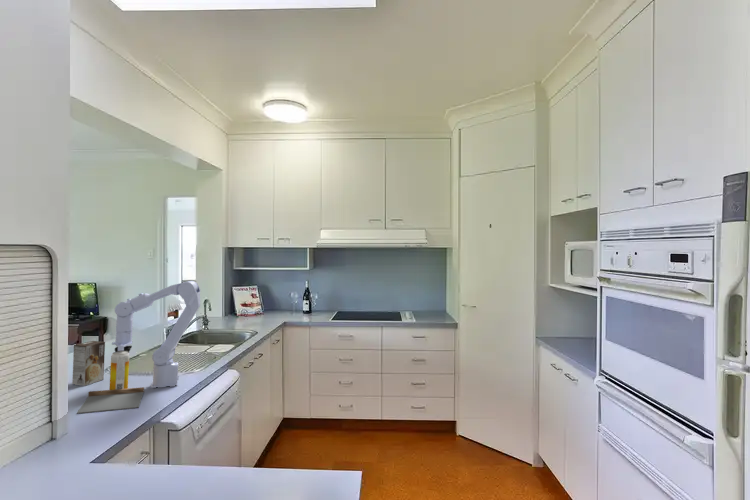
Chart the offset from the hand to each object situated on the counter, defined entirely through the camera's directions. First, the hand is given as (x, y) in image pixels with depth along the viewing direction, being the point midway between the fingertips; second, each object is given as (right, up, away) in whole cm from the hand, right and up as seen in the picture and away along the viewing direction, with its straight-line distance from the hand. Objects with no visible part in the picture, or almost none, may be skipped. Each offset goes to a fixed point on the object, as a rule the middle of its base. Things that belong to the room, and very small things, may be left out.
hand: (122, 364), depth 167 cm
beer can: (+3, -9, -7) cm, 11 cm away
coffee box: (-16, -8, +3) cm, 18 cm away
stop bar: (+4, -8, -10) cm, 14 cm away
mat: (+8, -8, -19) cm, 22 cm away
